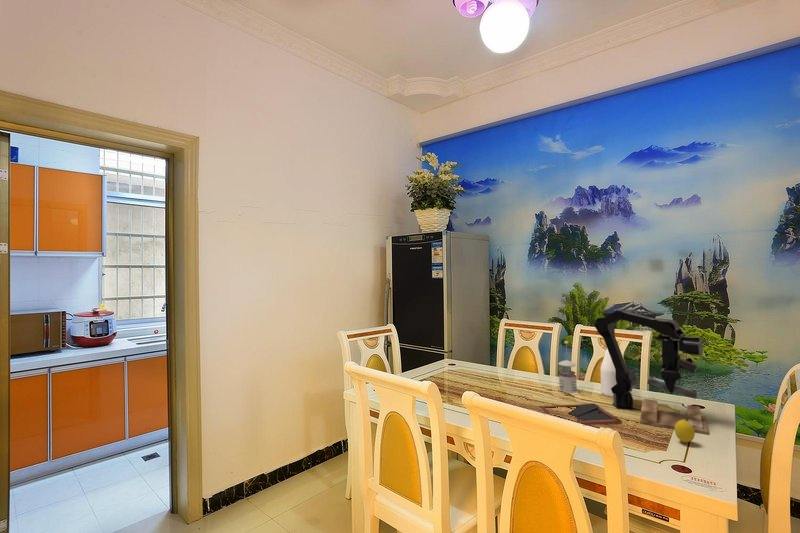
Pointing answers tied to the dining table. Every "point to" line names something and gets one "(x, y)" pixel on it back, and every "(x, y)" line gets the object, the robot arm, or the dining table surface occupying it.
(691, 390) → the picture frame
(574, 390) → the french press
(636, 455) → the dining table surface
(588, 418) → the picture frame
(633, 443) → the dining table surface
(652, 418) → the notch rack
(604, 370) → the wine bottle
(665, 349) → the robot arm
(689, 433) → the lemon
